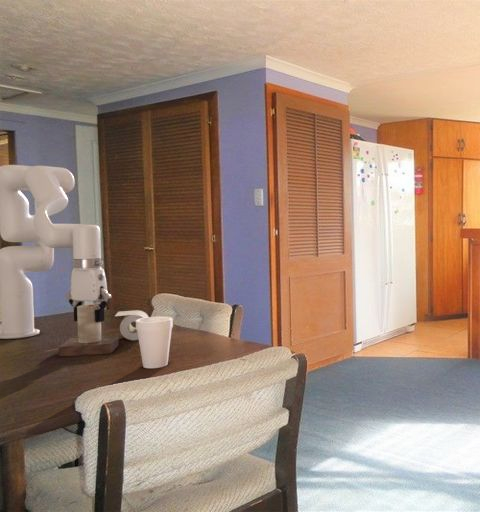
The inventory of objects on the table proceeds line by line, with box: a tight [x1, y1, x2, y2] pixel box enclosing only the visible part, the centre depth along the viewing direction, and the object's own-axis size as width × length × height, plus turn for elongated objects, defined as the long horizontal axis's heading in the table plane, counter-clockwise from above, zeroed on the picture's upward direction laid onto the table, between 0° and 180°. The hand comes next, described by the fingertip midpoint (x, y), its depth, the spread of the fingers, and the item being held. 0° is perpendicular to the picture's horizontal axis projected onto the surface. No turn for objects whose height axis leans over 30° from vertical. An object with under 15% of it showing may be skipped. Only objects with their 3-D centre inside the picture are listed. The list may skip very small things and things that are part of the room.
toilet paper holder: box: [114, 309, 150, 341], centre depth 184 cm, size 12×9×15 cm
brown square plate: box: [58, 335, 120, 357], centre depth 165 cm, size 14×12×3 cm
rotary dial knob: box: [76, 303, 102, 343], centre depth 164 cm, size 6×6×11 cm
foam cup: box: [135, 316, 174, 369], centre depth 148 cm, size 10×9×13 cm
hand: (89, 320), depth 164 cm, fingers open, 7 cm apart
